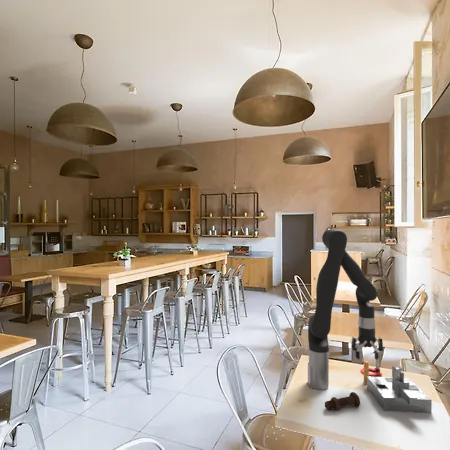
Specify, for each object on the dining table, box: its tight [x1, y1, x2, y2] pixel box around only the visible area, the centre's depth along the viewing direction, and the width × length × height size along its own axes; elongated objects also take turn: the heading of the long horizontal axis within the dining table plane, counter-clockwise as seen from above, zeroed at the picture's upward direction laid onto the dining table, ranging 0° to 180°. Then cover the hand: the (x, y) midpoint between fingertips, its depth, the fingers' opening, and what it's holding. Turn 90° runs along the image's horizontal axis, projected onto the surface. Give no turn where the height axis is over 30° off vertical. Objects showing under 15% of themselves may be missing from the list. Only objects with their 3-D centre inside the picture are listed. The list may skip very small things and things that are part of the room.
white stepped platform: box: [366, 365, 433, 414], centre depth 141 cm, size 19×24×14 cm
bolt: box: [323, 391, 361, 411], centre depth 137 cm, size 6×5×15 cm
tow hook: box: [360, 359, 383, 377], centre depth 170 cm, size 8×13×9 cm
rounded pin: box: [363, 360, 370, 385], centre depth 159 cm, size 2×2×10 cm
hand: (367, 358), depth 159 cm, fingers open, 8 cm apart
